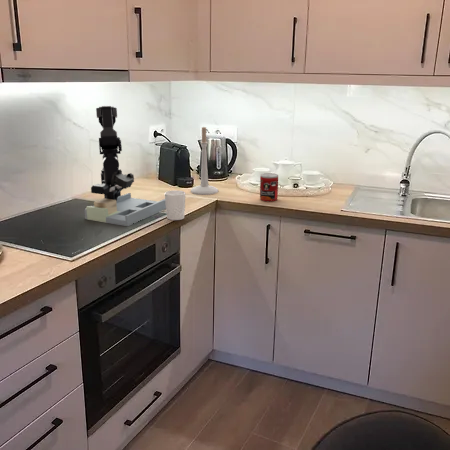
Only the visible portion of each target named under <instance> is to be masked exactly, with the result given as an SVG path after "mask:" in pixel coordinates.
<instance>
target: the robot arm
mask: <svg viewBox="0 0 450 450" xmlns="http://www.w3.org/2000/svg"><path fill="white" fill-rule="evenodd" d="M95 111H96V118H97V119H98V123H99V124H100V126H101V127H102V130H101V131H100V133H99V134H100V135H99V136H100V137H98V144H99V145H98V148H99V155H102V168H101V169H102V170H100V171H101V172H100V178H101V179H100V180H101V181H100V182H101V183H97V184H94V185H92V186H91V187H90V190H91V191H90V193H91V194H98V195H103V196H104V197H103V198H105V199H112V200H116V202H117V198H118V197H119V196H122V193H121V191H123V190H126V189H128V188H131V187H132V185H133V183H135V177H134V173H132V172H129V173H127V174H123V171H122V169H120V168H119V167H120V163H119V154H121V152H122V151H123V149H122V139H121V138H120V137H119V136H118V131H116V130H115V129H114V125H115V123H116V122H117V120H116V118H118V109H117V107H114V106H113V105H101V106H98V107H96V108H95Z"/></svg>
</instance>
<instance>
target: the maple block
mask: <svg viewBox="0 0 450 450" xmlns="http://www.w3.org/2000/svg"><path fill="white" fill-rule="evenodd" d="M93 206H94V207H99V208H106V209H108V215H109V214H112V213H114V212H116V211H117V203H116V200H112V199H105V198H104V197H103V198H101V199H97V200H96V201H93Z"/></svg>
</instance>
